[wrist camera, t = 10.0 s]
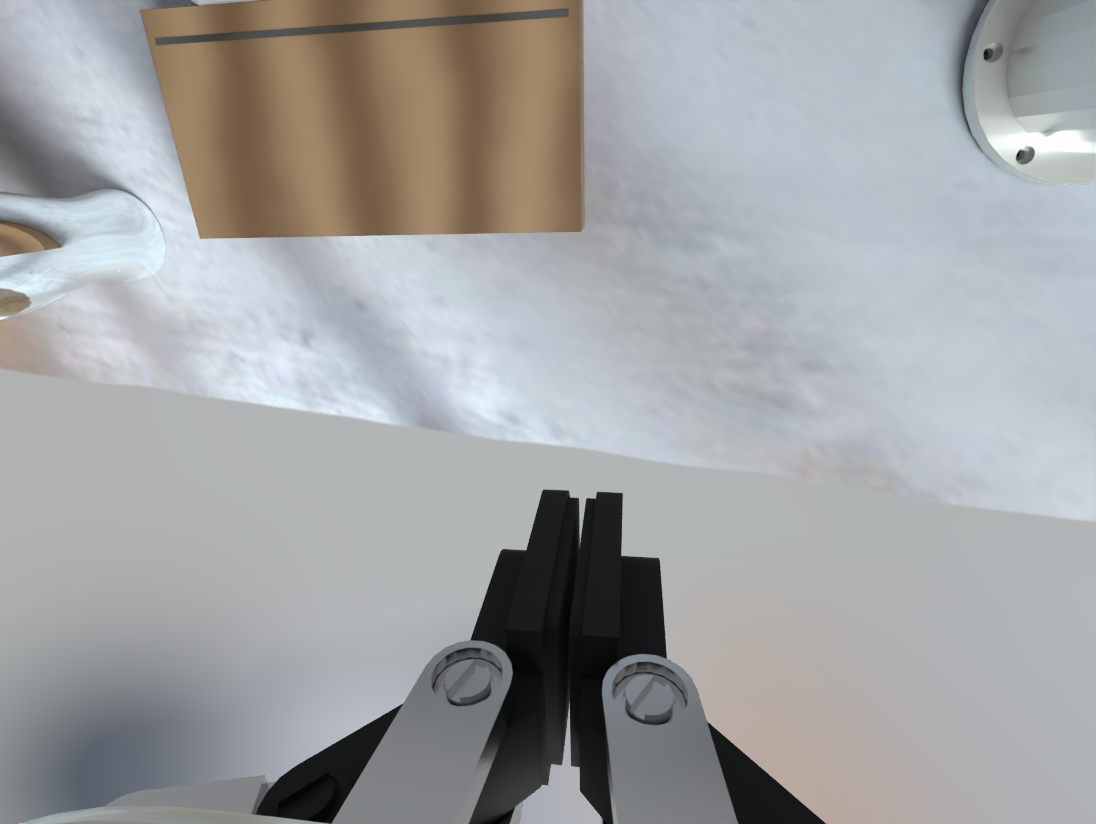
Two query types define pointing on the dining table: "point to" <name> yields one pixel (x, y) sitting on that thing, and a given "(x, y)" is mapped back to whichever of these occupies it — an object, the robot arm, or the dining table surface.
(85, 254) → the beer glass
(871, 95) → the dining table surface
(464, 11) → the brown wooden board
